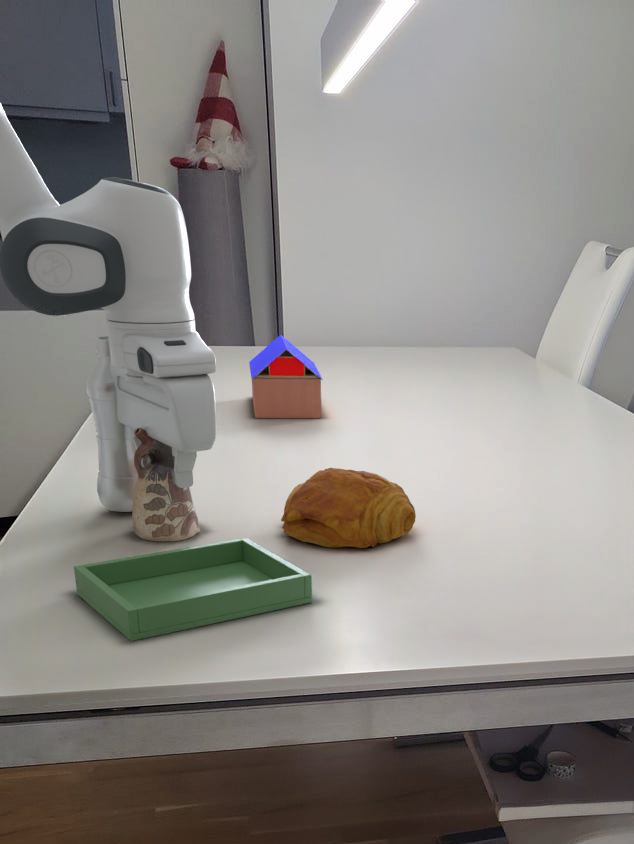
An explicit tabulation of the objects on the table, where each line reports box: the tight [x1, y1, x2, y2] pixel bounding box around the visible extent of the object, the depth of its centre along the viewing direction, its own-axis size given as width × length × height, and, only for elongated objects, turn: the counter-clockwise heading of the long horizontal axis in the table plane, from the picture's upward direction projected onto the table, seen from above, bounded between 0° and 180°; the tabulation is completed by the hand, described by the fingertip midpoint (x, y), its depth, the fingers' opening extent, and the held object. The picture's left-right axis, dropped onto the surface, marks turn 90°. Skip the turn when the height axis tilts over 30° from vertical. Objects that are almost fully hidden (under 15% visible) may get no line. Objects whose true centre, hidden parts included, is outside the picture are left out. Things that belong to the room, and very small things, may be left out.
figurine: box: [131, 428, 201, 542], centre depth 114 cm, size 7×7×12 cm
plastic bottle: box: [85, 335, 138, 513], centre depth 120 cm, size 6×7×20 cm
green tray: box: [73, 537, 313, 642], centre depth 97 cm, size 18×14×3 cm
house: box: [248, 334, 323, 419], centre depth 186 cm, size 12×20×12 cm, turn 13°
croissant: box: [280, 467, 417, 549], centre depth 118 cm, size 14×16×8 cm
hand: (165, 476), depth 114 cm, fingers open, 8 cm apart
